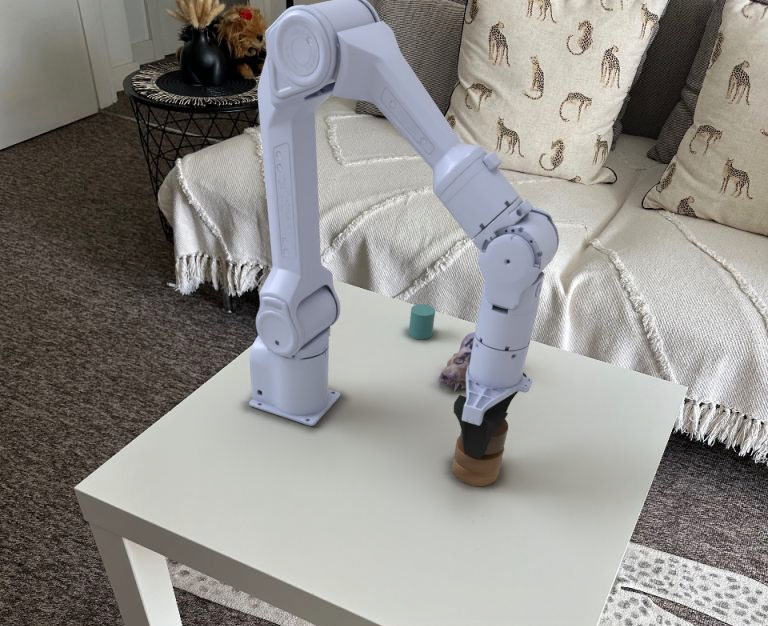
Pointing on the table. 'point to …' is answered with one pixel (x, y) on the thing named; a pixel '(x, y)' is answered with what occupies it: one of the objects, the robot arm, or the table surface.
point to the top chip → (477, 460)
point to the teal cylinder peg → (421, 321)
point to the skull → (459, 364)
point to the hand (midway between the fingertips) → (481, 441)
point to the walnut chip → (495, 439)
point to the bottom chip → (474, 476)
